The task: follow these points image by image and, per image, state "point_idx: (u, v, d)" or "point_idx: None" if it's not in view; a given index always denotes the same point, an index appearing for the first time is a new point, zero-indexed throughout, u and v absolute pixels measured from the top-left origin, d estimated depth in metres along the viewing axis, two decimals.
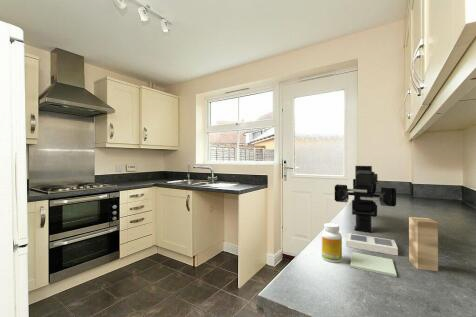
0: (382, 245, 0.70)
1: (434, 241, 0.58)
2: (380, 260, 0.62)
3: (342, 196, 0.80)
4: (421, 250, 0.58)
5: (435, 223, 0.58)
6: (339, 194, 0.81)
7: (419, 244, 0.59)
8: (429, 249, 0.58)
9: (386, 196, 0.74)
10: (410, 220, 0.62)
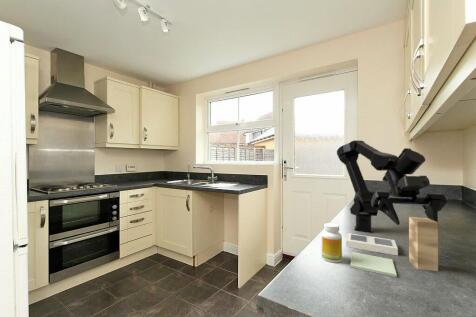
0: (382, 245, 0.70)
1: (434, 241, 0.58)
2: (380, 260, 0.62)
3: (383, 207, 0.70)
4: (421, 250, 0.58)
5: (435, 223, 0.58)
6: (380, 205, 0.70)
7: (419, 244, 0.59)
8: (429, 249, 0.58)
9: None
10: (410, 220, 0.62)
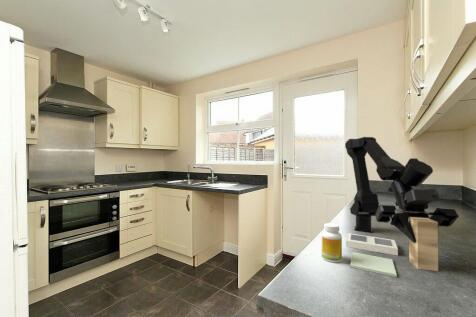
0: (382, 245, 0.70)
1: (434, 241, 0.58)
2: (380, 260, 0.62)
3: (397, 222, 0.65)
4: (421, 250, 0.58)
5: (435, 223, 0.58)
6: (394, 220, 0.65)
7: (419, 244, 0.59)
8: (429, 249, 0.58)
9: None
10: (410, 220, 0.62)
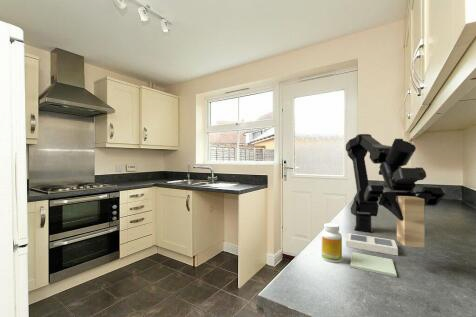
0: (382, 245, 0.70)
1: (421, 218, 0.58)
2: (380, 260, 0.62)
3: (385, 201, 0.65)
4: (408, 227, 0.59)
5: (422, 200, 0.58)
6: (382, 200, 0.65)
7: (406, 221, 0.59)
8: (415, 226, 0.58)
9: None
10: (398, 198, 0.62)
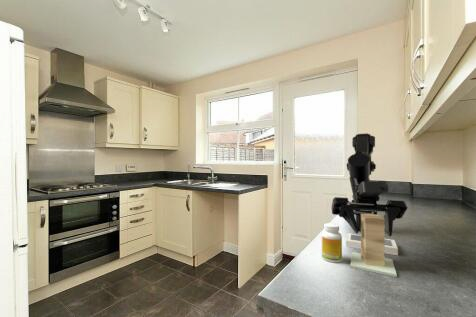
0: None
1: (381, 237, 0.58)
2: None
3: (345, 213, 0.66)
4: (369, 246, 0.59)
5: (382, 219, 0.59)
6: (341, 212, 0.66)
7: (367, 240, 0.59)
8: (376, 245, 0.59)
9: None
10: (361, 216, 0.63)
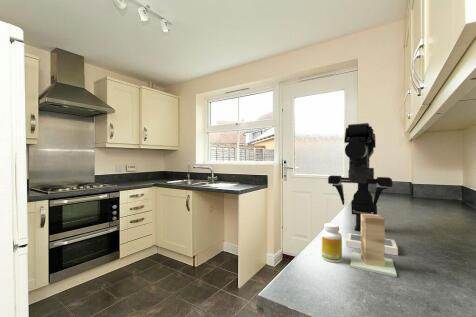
0: None
1: (381, 237, 0.58)
2: None
3: None
4: (369, 246, 0.59)
5: (382, 219, 0.59)
6: None
7: (367, 240, 0.59)
8: (376, 245, 0.59)
9: None
10: (361, 216, 0.63)
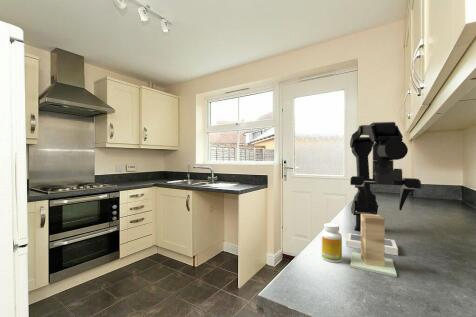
0: None
1: (381, 237, 0.58)
2: None
3: None
4: (369, 246, 0.59)
5: (382, 219, 0.59)
6: None
7: (367, 240, 0.59)
8: (376, 245, 0.59)
9: None
10: (361, 216, 0.63)
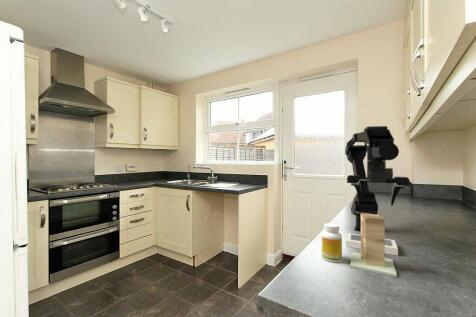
0: None
1: (381, 237, 0.58)
2: None
3: None
4: (369, 246, 0.59)
5: (382, 219, 0.59)
6: None
7: (367, 240, 0.59)
8: (376, 245, 0.59)
9: None
10: (361, 216, 0.63)
